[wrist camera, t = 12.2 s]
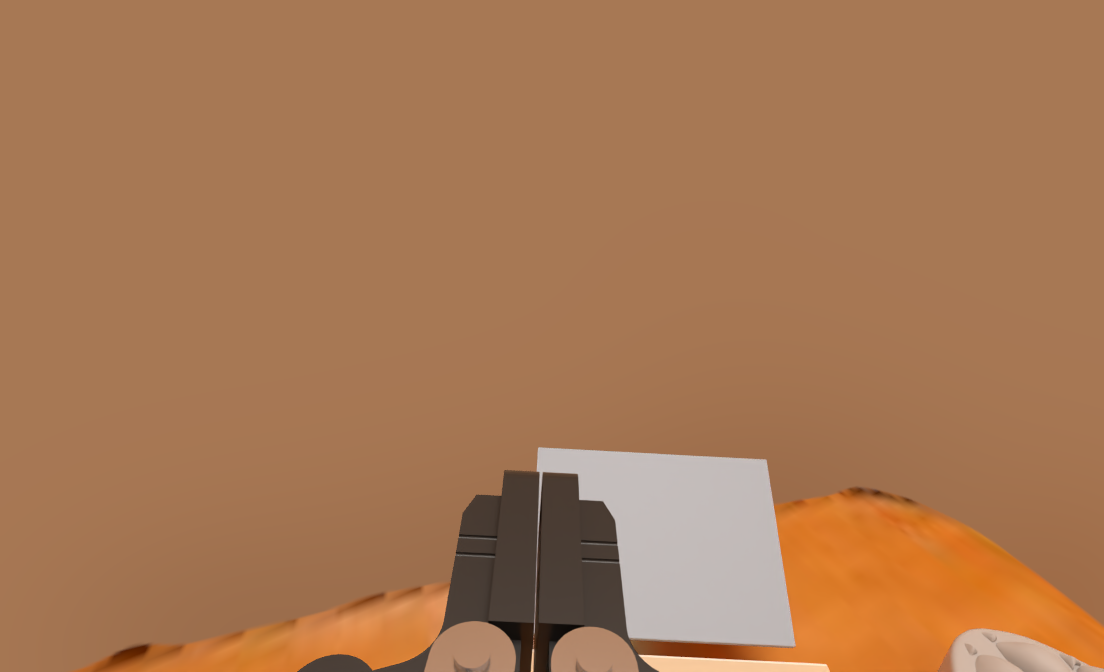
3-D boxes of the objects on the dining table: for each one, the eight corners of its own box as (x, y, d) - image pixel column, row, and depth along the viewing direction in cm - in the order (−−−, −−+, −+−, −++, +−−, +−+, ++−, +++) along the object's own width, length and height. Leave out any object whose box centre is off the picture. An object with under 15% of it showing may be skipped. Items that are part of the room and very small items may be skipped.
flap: (527, 632, 39) (538, 447, 46) (527, 634, 40) (538, 451, 47) (795, 646, 39) (766, 459, 46) (792, 648, 40) (763, 463, 47)
